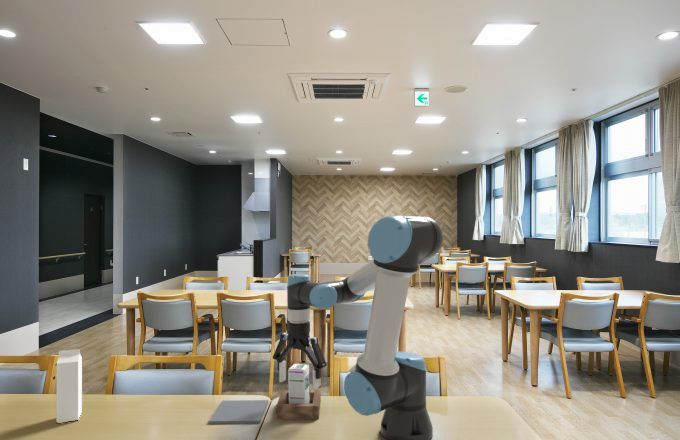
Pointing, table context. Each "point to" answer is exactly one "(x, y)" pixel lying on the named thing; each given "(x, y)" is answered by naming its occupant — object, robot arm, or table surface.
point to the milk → (69, 385)
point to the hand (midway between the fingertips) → (298, 384)
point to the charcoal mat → (239, 412)
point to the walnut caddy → (298, 407)
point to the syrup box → (299, 384)
